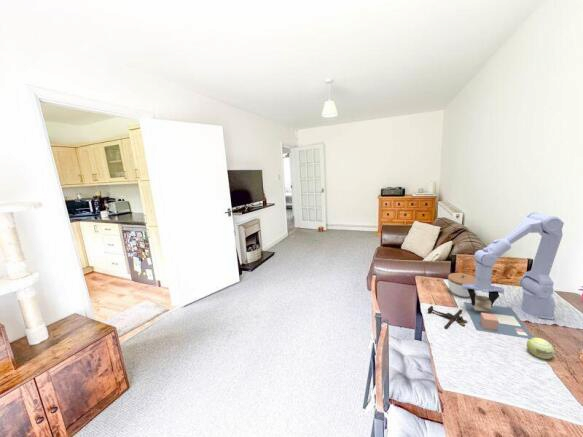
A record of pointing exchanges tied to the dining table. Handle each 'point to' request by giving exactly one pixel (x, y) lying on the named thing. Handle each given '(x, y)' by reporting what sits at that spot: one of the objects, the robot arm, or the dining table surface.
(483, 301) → the maple block
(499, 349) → the dining table surface
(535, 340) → the tennis ball
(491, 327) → the terracotta block
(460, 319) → the bear figurine
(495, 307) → the board
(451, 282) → the lidded bowl
